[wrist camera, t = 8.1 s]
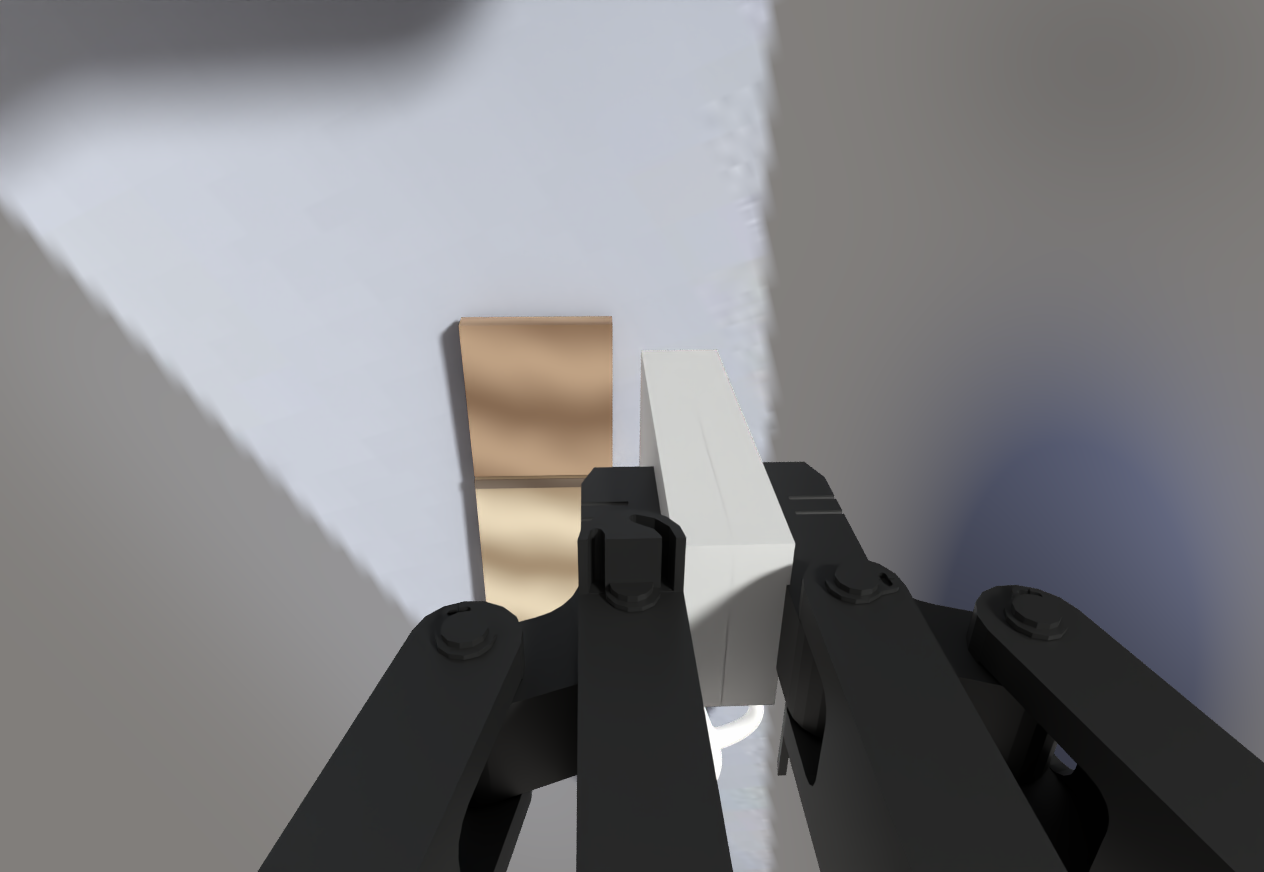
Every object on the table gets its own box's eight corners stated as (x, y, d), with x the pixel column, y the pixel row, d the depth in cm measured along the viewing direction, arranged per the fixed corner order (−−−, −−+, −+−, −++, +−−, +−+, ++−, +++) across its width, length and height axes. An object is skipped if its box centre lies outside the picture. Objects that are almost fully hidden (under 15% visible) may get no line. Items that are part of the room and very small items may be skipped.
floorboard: (477, 468, 50) (474, 480, 49) (611, 466, 50) (612, 478, 49) (491, 616, 55) (488, 631, 54) (612, 613, 56) (612, 627, 54)
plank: (461, 317, 45) (458, 325, 44) (611, 316, 45) (612, 324, 44) (476, 466, 50) (474, 476, 49) (611, 464, 50) (612, 474, 49)
